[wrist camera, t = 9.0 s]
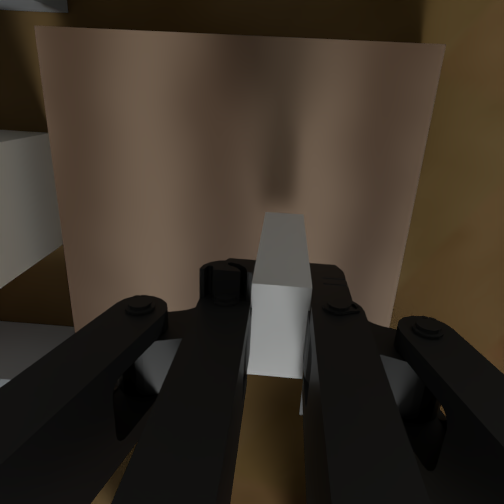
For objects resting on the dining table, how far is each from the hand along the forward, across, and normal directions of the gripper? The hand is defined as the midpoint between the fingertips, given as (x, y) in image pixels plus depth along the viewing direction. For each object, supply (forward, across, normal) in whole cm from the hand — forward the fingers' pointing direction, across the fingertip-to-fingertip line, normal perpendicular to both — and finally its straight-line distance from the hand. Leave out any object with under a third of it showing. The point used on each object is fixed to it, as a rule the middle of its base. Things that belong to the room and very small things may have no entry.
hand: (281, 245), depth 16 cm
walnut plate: (+5, +2, 0) cm, 6 cm away
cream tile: (+2, +12, 0) cm, 12 cm away
